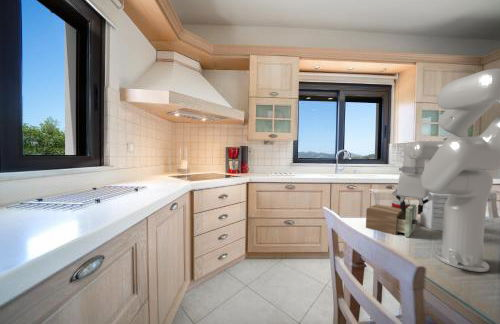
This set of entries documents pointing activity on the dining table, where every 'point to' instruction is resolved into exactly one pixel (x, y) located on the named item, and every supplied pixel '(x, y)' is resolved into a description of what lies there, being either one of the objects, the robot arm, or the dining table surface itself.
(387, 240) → the dining table surface
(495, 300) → the dining table surface
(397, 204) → the canned food
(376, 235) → the dining table surface
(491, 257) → the dining table surface
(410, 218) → the drawer
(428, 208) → the supplement box
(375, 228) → the cabinet
